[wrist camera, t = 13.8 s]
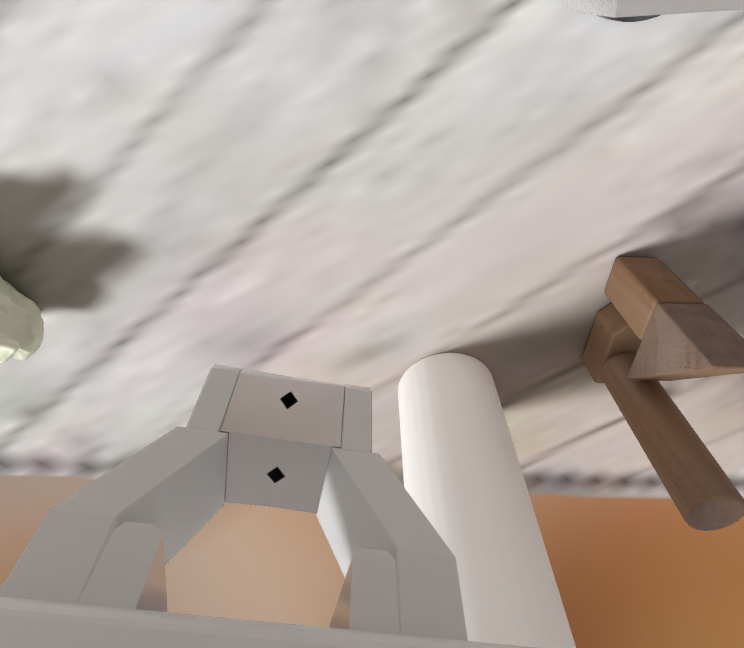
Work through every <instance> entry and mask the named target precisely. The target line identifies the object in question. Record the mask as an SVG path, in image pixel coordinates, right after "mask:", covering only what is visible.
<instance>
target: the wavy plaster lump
mask: <svg viewBox="0 0 744 648" xmlns="http://www.w3.org/2000/svg"><path fill="white" fill-rule="evenodd" d="M40 315H41V311H40V309H39V307H38V306H37V305H36V304H35V303H34V302H33V301H32V300H30V299H29V298H27V297H25V296H24V295H22V294H21V293H19V292H18V291H17V290H16V289H15V288H14V287H13V286H12V285H11V284H9V283H8V282H6V281H4V280H3V279H2V278H1V276H0V364H1V363H4V362H6V361H8V360H9V359H10V358H13V357H14V358H16V359H18V360H26V359H27V358H28V357H30V356H31V355H33V354H34V353H35V352H36V350H37V349H38V348H39V347H40V345H41V343H42V340H43V332H44V327H43V325H44V323H43V319H42V317H41V316H40Z"/></svg>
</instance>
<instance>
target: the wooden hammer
mask: <svg viewBox="0 0 744 648" xmlns="http://www.w3.org/2000/svg"><path fill="white" fill-rule="evenodd" d="M605 294H606V296H607V297H608V298H609V300H610V301H611V302H612V303H611V304H609V305H607V306H606V307H604V308H603V309H601V310H600V311H598V313H597V315H596V318H595V321H594V324H593V327H592V330H591V333H590V336H589V339H588V342H587V345H586V348H585V351H584V354H583V356H582V360H583V362H584V363H585V365H586V367H587V369H588V371H589V372H590V374H591V376H592V378H593V379H594V381H595V382H597V383H605V385H606V387H607V388H608V390H609V392H610V393H611V395H612V397H613V399H614V400H615V402H616V404H617V405H618V407H619V409H620V411H621V412H622V414H623V416H624V417H625V419H626V421H627V423H628V424H629V426H630V428H631V429H632V431H633V433H634V435H635V436H636V438H637V440H638V441H639V443H640V445H641V447H642V448H643V450H644V452H645V453H646V455H647V457H648V459H649V460H650V462H651V464H652V466H653V467H654V469H655V471H656V472H657V474H658V476H659V478H660V479H661V481H662V483H663V484H664V486H665V488H666V490H667V491H668V493H669V495H670V496H671V498H672V500H673V501H674V503H675V505H676V507H677V508H678V510H679V512H680V513H681V515H682V517H683V519H684V520H685V522H686V523H687V524H688V525H690V526H691V527H692V528H695V529H697V530H704V531H709V530H717V529H721V528H724V527H727V526H729V525H732V524H733V523H735V522H737V521H738V520H739V519H740V518H741V517H742V516H743V515H744V499H743V497H742V496H741V495H740V493H739V492H738V490H737V489H736V488H735V486H734V485H733V484H732V482H731V481H730V479H729V478H728V477H727V475H726V474H725V472H724V471H723V470H722V468H721V467H720V466H719V464H718V463H717V461H716V460H715V459H714V457H713V456H712V454H711V453H710V452H709V450H708V449H707V448H706V446H705V445H704V443H703V442H702V441H701V439H700V438H699V436H698V435H697V434H696V432H695V431H694V430H693V428H692V427H691V425H690V424H689V423H688V421H687V420H686V418H685V417H684V416H683V414H682V413H681V412H680V410H679V409H678V407H677V406H676V405H675V403H674V402H673V400H672V399H671V398H670V396H669V395H668V394H667V392H666V391H665V389H664V388H663V387H662V385H661V384H660V382H659V381H672V380H681V379H691V378H700V377H709V376H718V375H728V374H737V373H744V339H743V338H742V337H741V336H740V335H739V334H738V333H737V332H736V331H735V330H734V329H732V328H731V327H730V326H729V325H728V324H727V323H726V322H725V321H724V320H723V319H722V318H721V317H720V316H719V315H718V314H717V313H716V312H715V311H714V310H713V309H712V308H711V307H710V306H708V305H707V304H703V301H702V300H701V299H700V298H699V297H698V296H697V295H696V294H695V293H694V292H693V291H692V290H690V289H689V288H688V287H687V286H686V285H685V284H684V283H683V282H682V281H681V280H680V279H679V278H678V277H677V276H676V275H675V274H674V273H673V272H672V271H671V270H670V269H669V268H668V267H666V266H665V265H664V264H663V263H662V262H661V261H660V260H659V259H658V258H654V257H617V258H616V259H615V261H614V264H613V267H612V270H611V273H610V276H609V279H608V282H607V285H606V288H605Z"/></svg>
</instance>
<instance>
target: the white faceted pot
mask: <svg viewBox="0 0 744 648" xmlns="http://www.w3.org/2000/svg"><path fill="white" fill-rule="evenodd" d="M597 16H599V17H602V18H605V19H610V20H616V21H622V22H636V21H643V20H647V19H651V18H654V17H657V16H660V15H648V16H632V17H616V18H614V17H607V16H600V15H597Z"/></svg>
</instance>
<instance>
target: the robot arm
mask: <svg viewBox="0 0 744 648" xmlns="http://www.w3.org/2000/svg"><path fill="white" fill-rule="evenodd" d="M224 502H228V503H239V504H249V505H260V506H270V507H277V508H284V509H291V510H297V511H304V512H311V513H317V517H318V520H319V522H320V524H321V526H322V528H323V531H324V533H325V535H326V537H327V539H328V541H329V544H330V546H331V548H332V550H333V552H334V554H335V557H336V559H337V561H338V563H339V565H340V568H341V569H342V572H343V574H344V576H345V581H344V584H343V586H342V589H341V593H340V595H339V598H338V602H337V605H336V608H335V611H334V614H333V617H332V620H331V623H330V626H329V628H327V627H316V626H306V625H296V624H285V623H275V622H264V621H253V620H243V619H231V618H222V617H211V616H200V615H189V614H179V613H168V612H167V596H166V579H165V565H166V564H167V563H168V562H169V561H170V560H171V559H172V558H173V557H174V556H175V555H176V554H177V553H178V551H180V549H182V547H184V546H185V544H186V543H187V542H188V541H189V540H190V539H191V538H192V537H193V536H194V535H195V534H196V533H197V532H198V531H199V530H200V529H201V528H202V527H203V526H204V525H205V524H206V523H207V522H208V521H209V520H210V519H211V518H212V517H213V516H214V515H215V514H216V513H217V512H218V511H219V510H220V509H221V508H222V507H223V506H224ZM0 648H536V647H526V646H515V645H505V644H494V643H484V642H473V641H468V638H467V631H466V625H465V618H464V611H463V604H462V597H461V590H460V583H459V577H458V570H457V563H456V557H455V556H454V554H453V553H452V552H451V550H450V549H449V548H448V546H447V545H446V544H445V542H444V541H443V540H442V538H441V537H440V535H439V534H438V533H437V531H436V530H435V529H434V527H433V526H432V525H431V523H430V522H429V520H428V519H427V518H426V516H425V515H424V514H423V512H422V511H421V510H420V508H419V507H418V506H417V504H416V503H415V501H414V500H413V499H412V497H411V496H410V495H409V493H408V492H407V491H406V489H405V488H404V486H403V485H402V484H401V482H400V481H399V480H398V478H397V477H396V476H395V474H394V473H393V472H392V470H391V469H390V467H389V466H388V465H387V463H386V462H385V461H384V459H383V458H382V457H381V455H380V454H375V453H372V391H371V389H370V388H368V387H360V386H353V385H345V386H344V385H342V384H336V383H329V382H322V381H315V380H308V379H301V378H294V377H288V376H282V375H277V374H271V373H265V372H260V371H254V370H248V369H243V368H242V369H239V368H234V367H228V366H223V365H217V364H215V365H214V366H213V367H212V368H211V369H210V372H209V374H208V376H207V379H206V381H205V384H204V386H203V388H202V391H201V393H200V395H199V398H198V400H197V403H196V405H195V407H194V410H193V412H192V414H191V417H190V419H189V421H188V424H187V426H186V427H178V426H177V427H176V428H174V429H173V430H171V431H170V432H168V433H167V434H165V435H163V436H162V437H160V438H159V439H157V440H156V441H154V442H153V443H151V444H150V445H148V446H147V447H145V448H144V449H142V450H140V451H139V452H137V453H136V454H134V455H133V456H131V457H130V458H128V459H127V460H125V461H124V462H122V463H120V464H119V465H117V466H116V467H114V468H113V469H111V470H110V471H108V472H107V473H105V474H104V475H102V476H100V477H99V478H97V479H96V480H94V481H93V482H91V483H90V484H88V485H87V486H85V487H84V488H82V489H81V490H79V491H77V492H76V493H74V494H73V495H71V496H70V497H68V498H67V499H65V500H64V501H62V502H61V503H59V504H58V505H56V506H54V507H53V508H51V509H50V510H49V511H48V513H47V515H46V516H45V518H44V519H43V521H42V523H41V524H40V526H39V527H38V529H37V531H36V532H35V534H34V535H33V537H32V539H31V541H30V542H29V544H28V545H27V547H26V549H25V550H24V552H23V553H22V555H21V557H20V558H19V560H18V561H17V563H16V564H15V566H14V568H13V569H12V571H11V573H10V574H9V576H8V577H7V579H6V581H5V582H4V584H3V585H2V587H1V589H0Z"/></svg>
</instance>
